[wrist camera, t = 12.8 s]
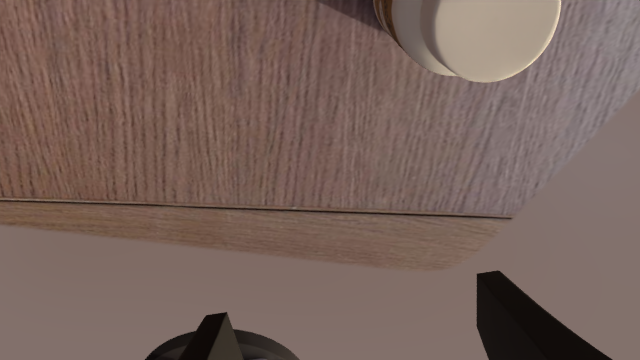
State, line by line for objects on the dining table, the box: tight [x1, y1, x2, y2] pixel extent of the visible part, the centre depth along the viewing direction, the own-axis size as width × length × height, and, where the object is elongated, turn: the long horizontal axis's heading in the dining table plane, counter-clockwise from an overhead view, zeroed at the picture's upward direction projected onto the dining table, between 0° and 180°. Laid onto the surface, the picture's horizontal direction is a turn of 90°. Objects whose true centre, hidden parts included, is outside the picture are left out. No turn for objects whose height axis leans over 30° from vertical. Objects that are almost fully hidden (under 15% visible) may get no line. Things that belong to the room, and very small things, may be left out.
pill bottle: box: [373, 0, 561, 82], centre depth 15 cm, size 4×4×8 cm
